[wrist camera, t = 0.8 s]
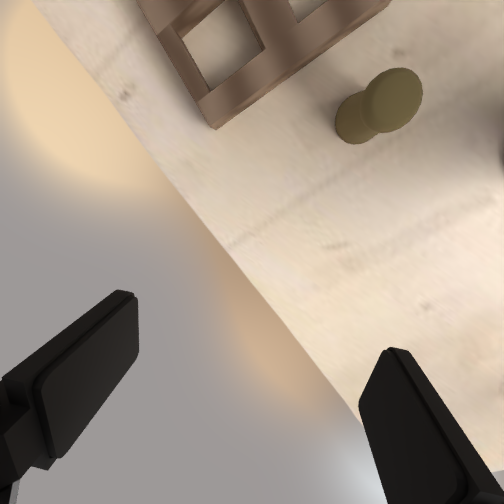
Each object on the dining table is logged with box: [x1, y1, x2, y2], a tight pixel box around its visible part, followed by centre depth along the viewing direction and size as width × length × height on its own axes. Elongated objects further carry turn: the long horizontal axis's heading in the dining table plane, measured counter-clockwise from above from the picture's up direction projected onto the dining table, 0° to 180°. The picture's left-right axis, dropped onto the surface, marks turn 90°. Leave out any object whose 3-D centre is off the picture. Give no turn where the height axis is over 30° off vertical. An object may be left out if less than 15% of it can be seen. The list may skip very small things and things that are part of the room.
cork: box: [335, 68, 423, 144], centre depth 26 cm, size 6×6×11 cm
